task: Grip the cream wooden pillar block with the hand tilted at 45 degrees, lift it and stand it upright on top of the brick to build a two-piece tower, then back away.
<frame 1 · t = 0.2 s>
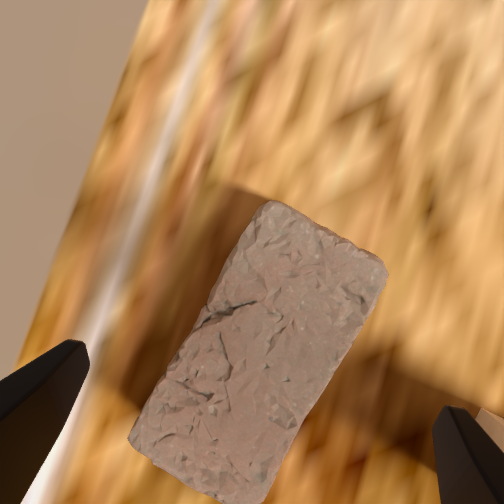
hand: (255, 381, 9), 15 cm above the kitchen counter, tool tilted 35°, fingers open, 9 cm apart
brick: (261, 337, 25), on the kitchen counter
pillar block: (501, 462, 23), on the kitchen counter
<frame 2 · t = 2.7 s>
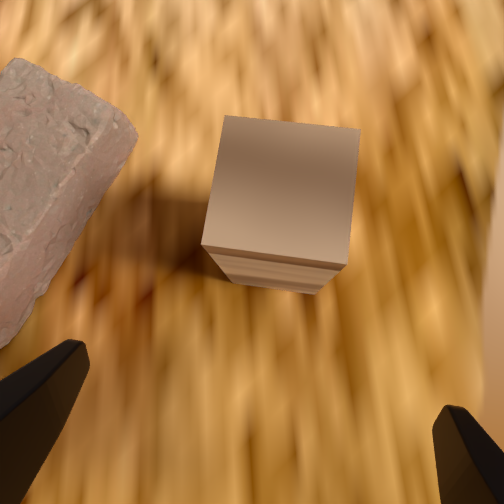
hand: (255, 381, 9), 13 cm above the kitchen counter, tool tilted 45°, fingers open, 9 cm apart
brick: (33, 213, 25), on the kitchen counter
pillar block: (278, 248, 23), on the kitchen counter
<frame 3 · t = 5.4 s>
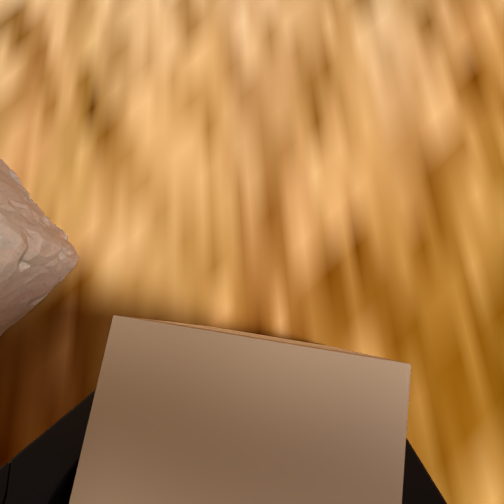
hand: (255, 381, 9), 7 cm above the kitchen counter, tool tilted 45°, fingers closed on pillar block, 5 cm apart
pillar block: (257, 396, 15), on the kitchen counter, touching gripper
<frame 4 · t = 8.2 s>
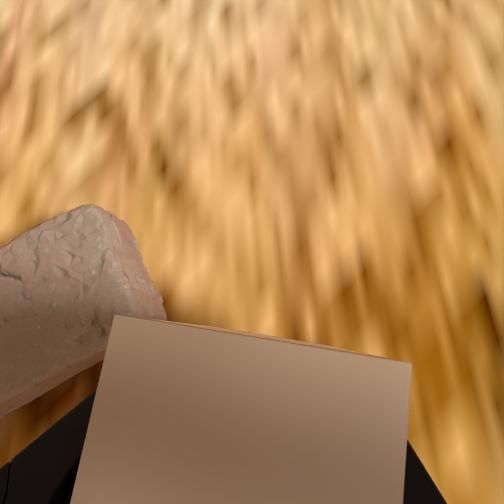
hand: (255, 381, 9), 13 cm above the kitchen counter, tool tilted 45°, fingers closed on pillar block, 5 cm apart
brick: (37, 327, 24), on the kitchen counter
pillar block: (258, 396, 15), point 7 cm above the kitchen counter, touching gripper
when the fingers open (13 cm above the kitchen counter, at t = 11.1 s): pillar block drops 2 cm, resting on brick.
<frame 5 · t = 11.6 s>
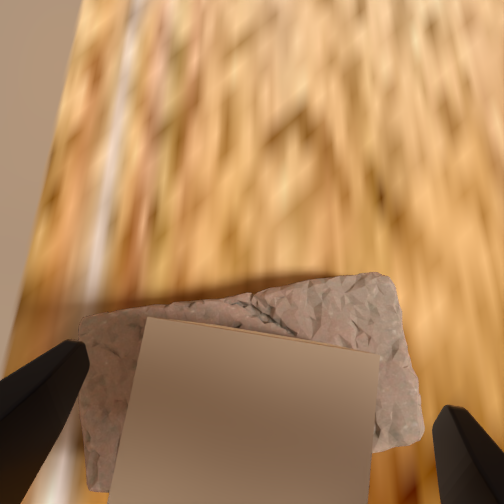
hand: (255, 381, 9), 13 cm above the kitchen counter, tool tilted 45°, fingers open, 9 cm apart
brick: (252, 367, 22), on the kitchen counter, touching pillar block
pillar block: (259, 387, 17), point 4 cm above the kitchen counter, touching brick
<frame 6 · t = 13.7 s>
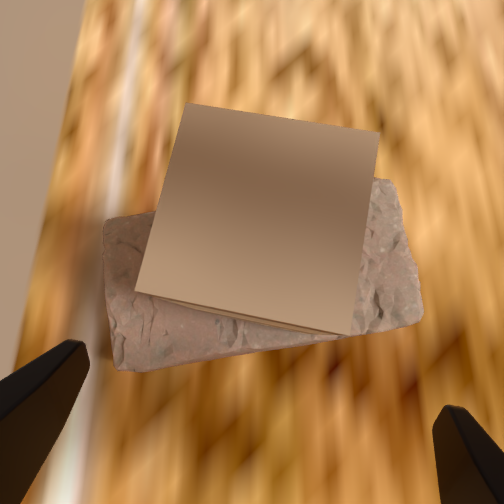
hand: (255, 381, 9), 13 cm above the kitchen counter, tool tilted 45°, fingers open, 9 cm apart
brick: (262, 279, 23), on the kitchen counter, touching pillar block
pillar block: (266, 274, 19), point 4 cm above the kitchen counter, touching brick
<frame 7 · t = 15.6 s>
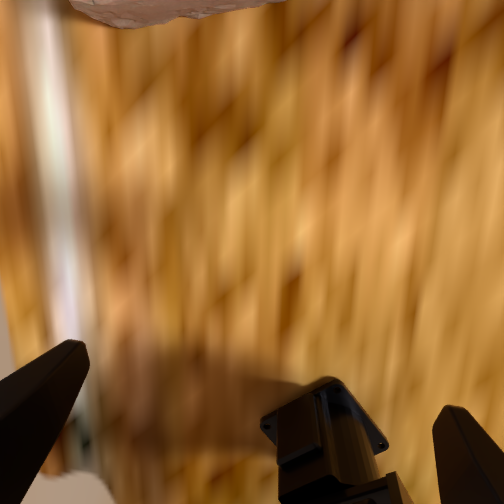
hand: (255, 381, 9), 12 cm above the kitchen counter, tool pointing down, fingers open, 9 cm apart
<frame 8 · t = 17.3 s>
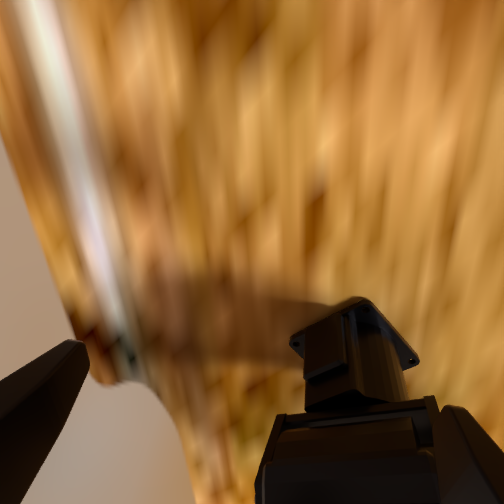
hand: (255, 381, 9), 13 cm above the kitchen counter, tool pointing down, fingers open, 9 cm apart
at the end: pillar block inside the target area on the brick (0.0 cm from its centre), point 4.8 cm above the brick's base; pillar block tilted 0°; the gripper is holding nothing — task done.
